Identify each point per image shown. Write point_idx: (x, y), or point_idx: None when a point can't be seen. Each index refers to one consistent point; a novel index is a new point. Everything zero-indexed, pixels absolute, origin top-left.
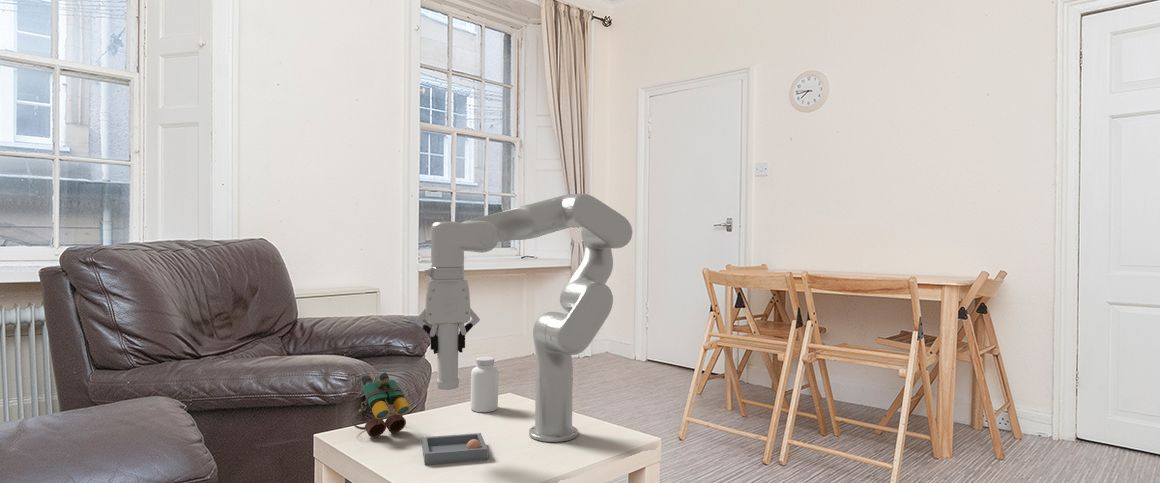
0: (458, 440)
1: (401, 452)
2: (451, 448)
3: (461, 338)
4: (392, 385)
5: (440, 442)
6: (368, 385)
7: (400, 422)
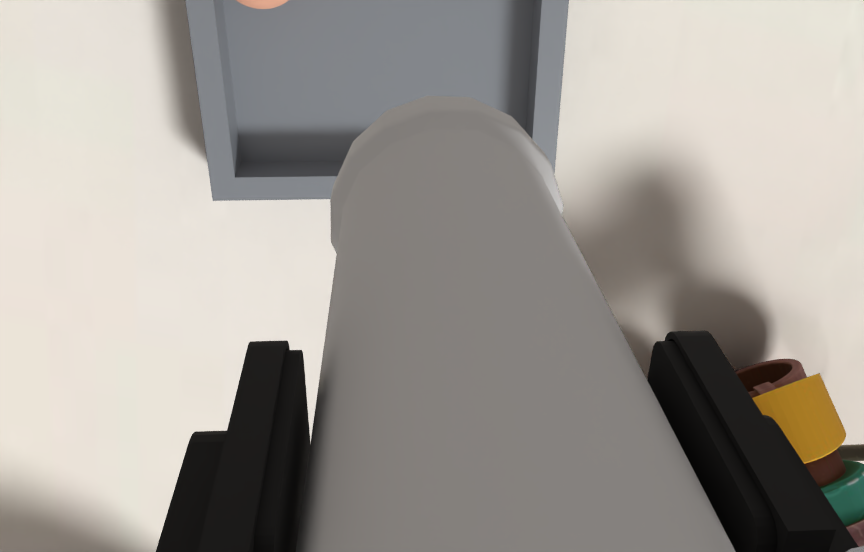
0: None
1: (657, 122)
2: (393, 72)
3: (229, 501)
4: None
5: None
6: None
7: None
